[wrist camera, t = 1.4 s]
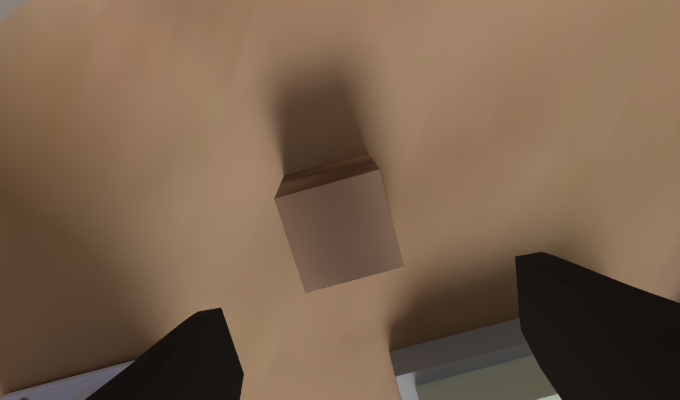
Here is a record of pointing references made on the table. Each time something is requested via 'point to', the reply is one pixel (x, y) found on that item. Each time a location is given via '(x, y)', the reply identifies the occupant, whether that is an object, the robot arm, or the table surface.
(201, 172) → the table surface
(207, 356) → the robot arm
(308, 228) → the walnut cube
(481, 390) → the green top slab
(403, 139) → the table surface
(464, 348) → the grey base slab
